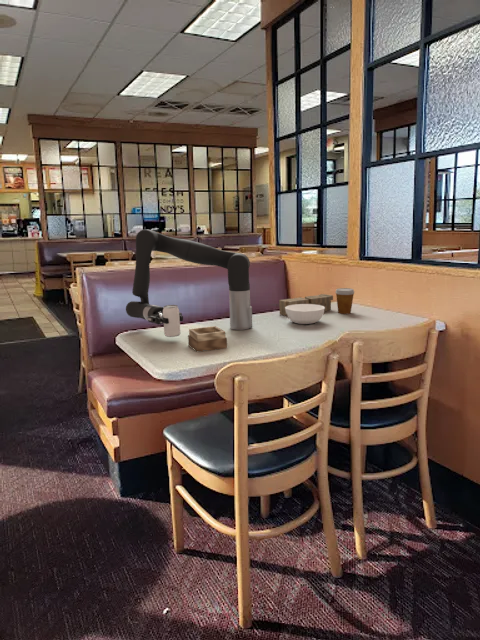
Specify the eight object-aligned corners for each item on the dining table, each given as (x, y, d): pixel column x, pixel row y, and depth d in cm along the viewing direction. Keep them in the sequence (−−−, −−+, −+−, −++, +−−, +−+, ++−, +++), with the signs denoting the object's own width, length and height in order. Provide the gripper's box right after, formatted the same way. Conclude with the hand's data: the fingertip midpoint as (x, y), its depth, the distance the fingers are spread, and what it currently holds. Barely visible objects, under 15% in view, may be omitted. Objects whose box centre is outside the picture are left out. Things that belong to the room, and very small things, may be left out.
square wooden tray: (215, 332, 195) (215, 326, 195) (225, 338, 185) (225, 331, 185) (189, 335, 191) (189, 329, 191) (197, 341, 181) (197, 334, 181)
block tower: (288, 318, 242) (333, 310, 256) (287, 302, 240) (333, 294, 254) (279, 316, 249) (324, 308, 263) (278, 299, 247) (324, 292, 261)
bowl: (323, 318, 236) (323, 303, 234) (326, 326, 218) (326, 310, 216) (285, 318, 238) (285, 304, 236) (285, 326, 220) (284, 311, 218)
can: (163, 334, 200) (161, 305, 198) (178, 332, 202) (176, 304, 200) (166, 337, 194) (164, 308, 192) (182, 335, 196) (180, 306, 194)
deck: (217, 341, 196) (216, 331, 195) (227, 347, 186) (226, 337, 185) (188, 345, 192) (188, 335, 191) (197, 351, 182) (196, 341, 181)
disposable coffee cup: (356, 311, 249) (357, 288, 247) (350, 315, 241) (350, 291, 239) (338, 310, 254) (339, 287, 252) (332, 313, 246) (332, 290, 244)
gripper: (139, 308, 203) (158, 313, 190) (169, 303, 212) (189, 308, 198) (140, 325, 205) (159, 332, 192) (170, 320, 213) (190, 326, 200)
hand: (175, 319), depth 195 cm, fingers closed on can, 6 cm apart
